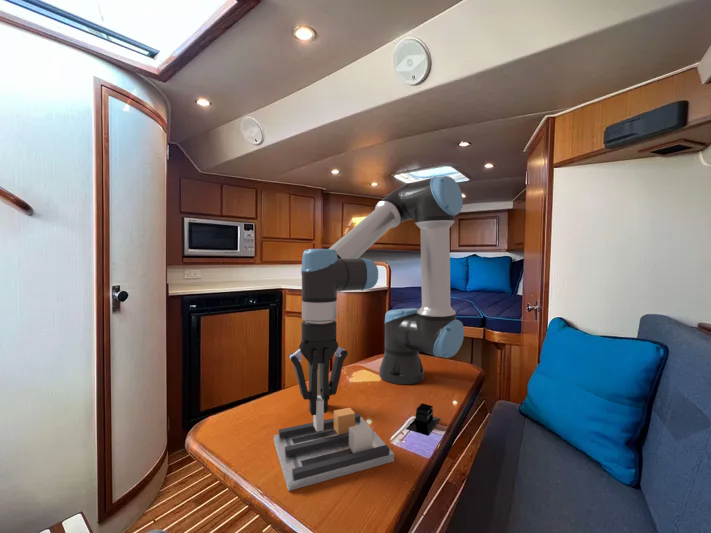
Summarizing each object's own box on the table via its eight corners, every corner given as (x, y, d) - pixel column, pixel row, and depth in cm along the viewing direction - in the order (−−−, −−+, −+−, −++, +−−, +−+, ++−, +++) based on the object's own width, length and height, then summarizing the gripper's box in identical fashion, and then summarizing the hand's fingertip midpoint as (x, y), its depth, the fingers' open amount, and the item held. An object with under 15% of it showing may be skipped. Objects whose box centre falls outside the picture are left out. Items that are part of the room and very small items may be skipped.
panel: (361, 422, 78) (361, 416, 78) (394, 461, 63) (394, 453, 63) (273, 441, 70) (273, 434, 70) (288, 491, 55) (288, 482, 55)
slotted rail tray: (358, 418, 77) (358, 413, 77) (389, 454, 63) (389, 448, 63) (278, 434, 70) (278, 429, 70) (293, 480, 55) (294, 473, 55)
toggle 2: (366, 442, 67) (366, 423, 67) (372, 450, 64) (372, 430, 64) (348, 446, 65) (348, 427, 65) (354, 454, 63) (354, 434, 62)
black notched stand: (429, 442, 71) (429, 422, 71) (399, 432, 75) (399, 413, 75) (446, 419, 81) (446, 401, 81) (419, 411, 85) (419, 394, 85)
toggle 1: (349, 424, 74) (350, 407, 74) (354, 430, 71) (355, 413, 71) (333, 427, 72) (333, 410, 72) (338, 434, 70) (338, 416, 70)
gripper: (341, 315, 75) (340, 414, 75) (285, 319, 70) (285, 425, 70) (353, 321, 68) (352, 430, 68) (293, 325, 63) (292, 443, 63)
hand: (318, 427), depth 69 cm, fingers closed
